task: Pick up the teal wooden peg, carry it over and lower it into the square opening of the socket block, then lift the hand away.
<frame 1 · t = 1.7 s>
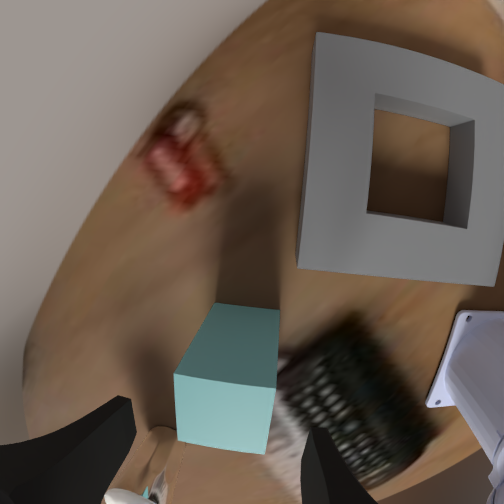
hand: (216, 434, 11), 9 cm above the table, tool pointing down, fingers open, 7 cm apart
peg: (244, 335, 20), on the table
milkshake: (164, 435, 23), on the table
socket block: (406, 164, 16), on the table
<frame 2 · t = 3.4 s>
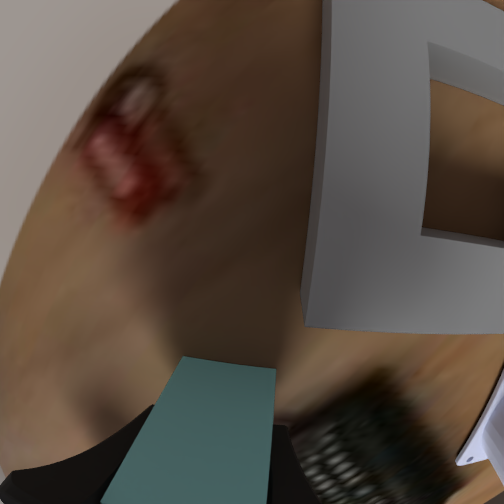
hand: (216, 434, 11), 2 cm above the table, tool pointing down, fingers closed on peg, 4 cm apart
peg: (226, 398, 13), on the table, touching gripper
socket block: (461, 158, 10), on the table
when the fingers open (4 cm above the table, at t = 8.1 s): peg drops 2 cm, resting in socket block.
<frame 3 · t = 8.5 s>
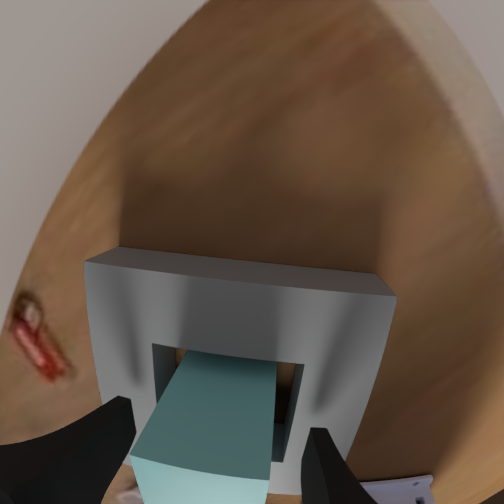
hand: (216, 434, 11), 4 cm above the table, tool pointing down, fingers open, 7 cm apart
peg: (233, 375, 15), resting in socket block
socket block: (232, 375, 15), on the table
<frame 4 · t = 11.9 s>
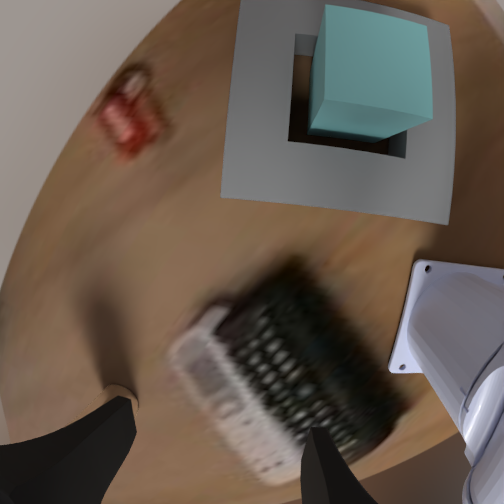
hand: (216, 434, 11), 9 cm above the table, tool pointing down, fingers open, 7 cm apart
peg: (342, 106, 17), resting in socket block
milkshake: (118, 395, 23), on the table
socket block: (341, 105, 17), on the table
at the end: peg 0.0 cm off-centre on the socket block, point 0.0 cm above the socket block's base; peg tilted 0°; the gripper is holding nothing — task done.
